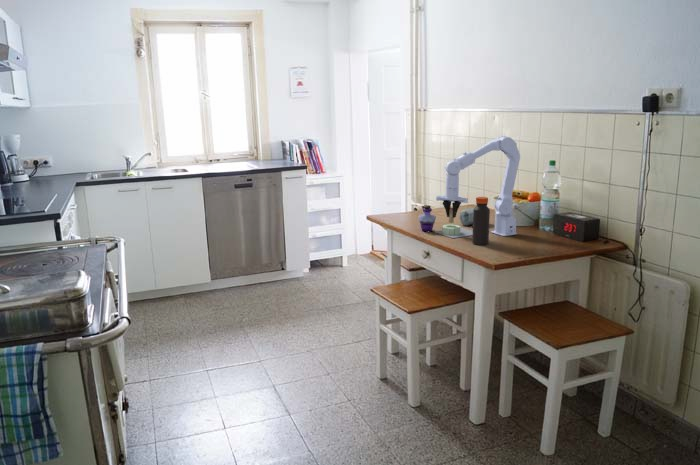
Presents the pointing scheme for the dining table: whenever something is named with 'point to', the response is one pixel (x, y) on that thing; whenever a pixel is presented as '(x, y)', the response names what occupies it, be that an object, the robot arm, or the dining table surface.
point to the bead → (451, 229)
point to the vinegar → (481, 222)
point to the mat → (463, 233)
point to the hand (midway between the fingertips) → (451, 217)
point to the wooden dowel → (451, 215)
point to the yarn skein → (466, 216)
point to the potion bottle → (427, 219)
